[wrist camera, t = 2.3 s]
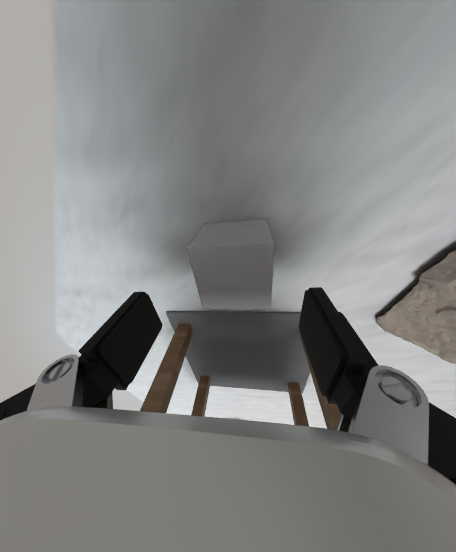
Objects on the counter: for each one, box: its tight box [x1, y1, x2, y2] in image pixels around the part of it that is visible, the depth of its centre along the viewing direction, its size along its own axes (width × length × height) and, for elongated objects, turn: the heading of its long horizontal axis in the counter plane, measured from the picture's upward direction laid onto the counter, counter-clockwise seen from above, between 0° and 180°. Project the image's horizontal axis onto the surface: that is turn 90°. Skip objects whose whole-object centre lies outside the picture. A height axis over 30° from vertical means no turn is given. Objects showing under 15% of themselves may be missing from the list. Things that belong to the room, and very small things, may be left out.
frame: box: [140, 324, 342, 430], centre depth 19 cm, size 16×17×13 cm
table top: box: [166, 311, 310, 393], centre depth 24 cm, size 20×19×1 cm
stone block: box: [187, 219, 274, 309], centre depth 13 cm, size 5×5×5 cm
